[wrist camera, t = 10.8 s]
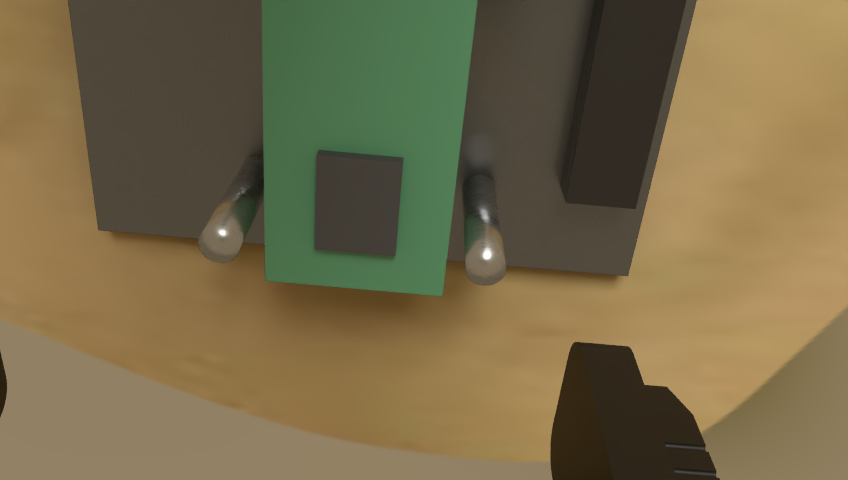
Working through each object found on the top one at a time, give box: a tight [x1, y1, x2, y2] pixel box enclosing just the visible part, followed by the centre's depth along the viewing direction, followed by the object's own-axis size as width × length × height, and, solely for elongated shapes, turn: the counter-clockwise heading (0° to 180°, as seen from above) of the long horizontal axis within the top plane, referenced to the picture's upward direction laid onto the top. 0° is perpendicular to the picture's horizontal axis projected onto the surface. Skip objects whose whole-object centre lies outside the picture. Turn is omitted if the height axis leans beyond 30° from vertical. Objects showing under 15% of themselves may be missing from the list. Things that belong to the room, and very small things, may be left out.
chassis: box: [68, 0, 697, 286], centre depth 23 cm, size 15×20×6 cm
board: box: [262, 0, 478, 296], centre depth 22 cm, size 12×6×3 cm, turn 175°
